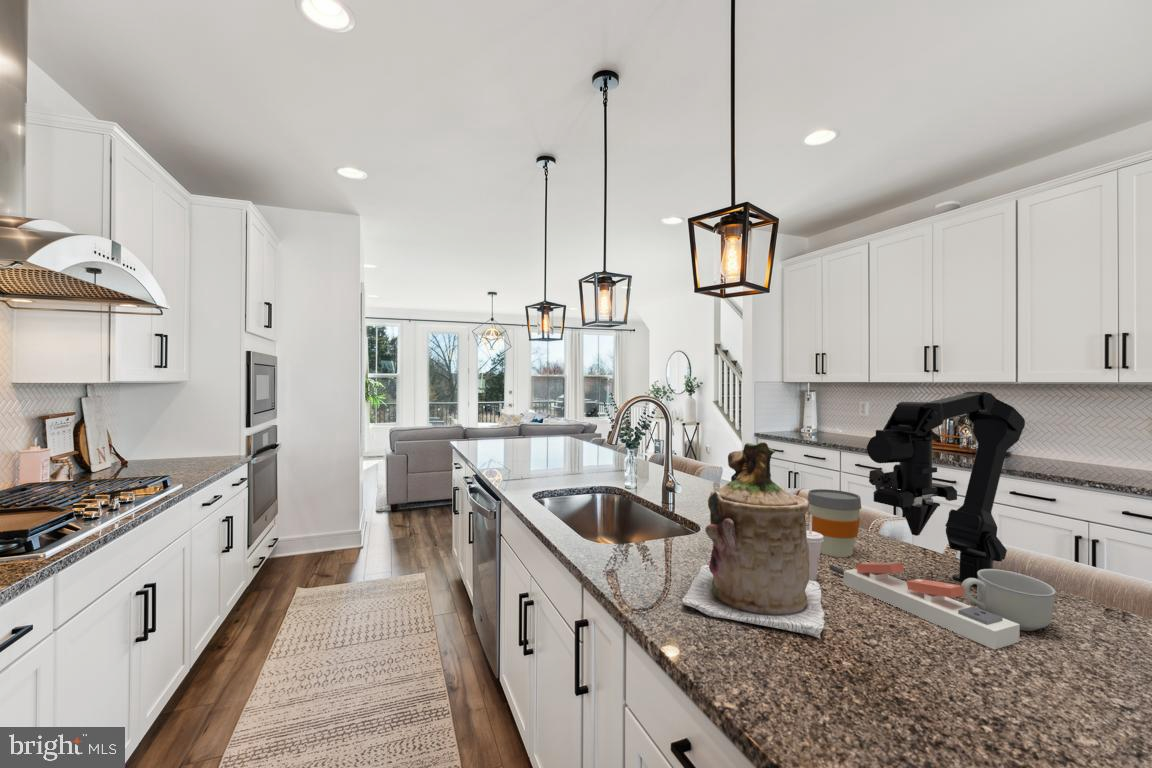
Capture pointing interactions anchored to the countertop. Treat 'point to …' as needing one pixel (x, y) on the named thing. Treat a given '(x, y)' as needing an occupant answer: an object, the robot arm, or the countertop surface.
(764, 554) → the cookie jar
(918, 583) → the block
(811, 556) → the smoothie
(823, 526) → the reusable coffee cup
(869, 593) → the power strip
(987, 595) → the teacup
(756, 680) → the countertop surface
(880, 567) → the rocker
